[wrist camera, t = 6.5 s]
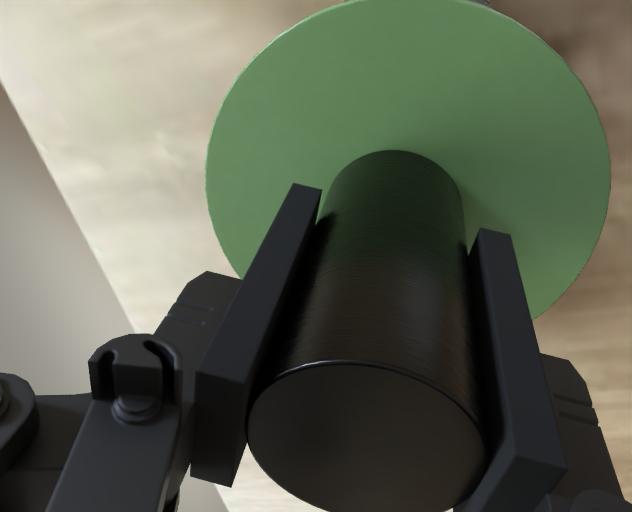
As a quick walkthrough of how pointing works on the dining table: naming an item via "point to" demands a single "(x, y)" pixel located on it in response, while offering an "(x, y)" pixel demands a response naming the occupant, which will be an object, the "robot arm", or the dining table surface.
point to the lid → (399, 233)
